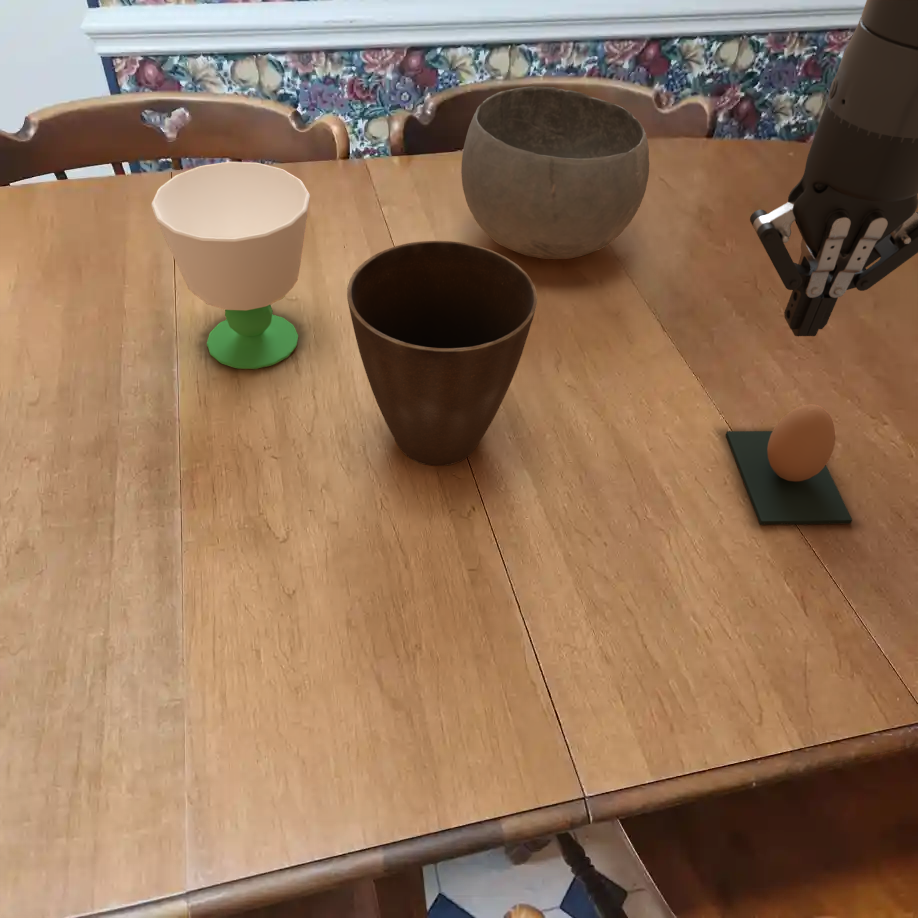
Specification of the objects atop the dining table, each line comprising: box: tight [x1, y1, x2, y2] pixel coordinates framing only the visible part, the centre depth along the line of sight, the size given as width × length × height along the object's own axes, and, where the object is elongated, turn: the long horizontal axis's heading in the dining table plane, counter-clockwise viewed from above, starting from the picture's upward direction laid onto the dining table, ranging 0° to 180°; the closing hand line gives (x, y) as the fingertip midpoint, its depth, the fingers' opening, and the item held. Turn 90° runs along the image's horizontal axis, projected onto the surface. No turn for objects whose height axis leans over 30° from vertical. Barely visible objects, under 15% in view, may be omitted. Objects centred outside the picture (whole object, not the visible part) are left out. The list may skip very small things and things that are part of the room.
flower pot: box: [346, 240, 538, 467], centre depth 75 cm, size 15×15×16 cm
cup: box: [150, 161, 311, 370], centre depth 84 cm, size 14×14×16 cm
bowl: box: [460, 85, 650, 260], centre depth 99 cm, size 20×20×15 cm
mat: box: [725, 430, 853, 526], centre depth 79 cm, size 11×8×1 cm
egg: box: [767, 403, 836, 482], centre depth 76 cm, size 5×5×8 cm
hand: (801, 329), depth 67 cm, fingers closed
